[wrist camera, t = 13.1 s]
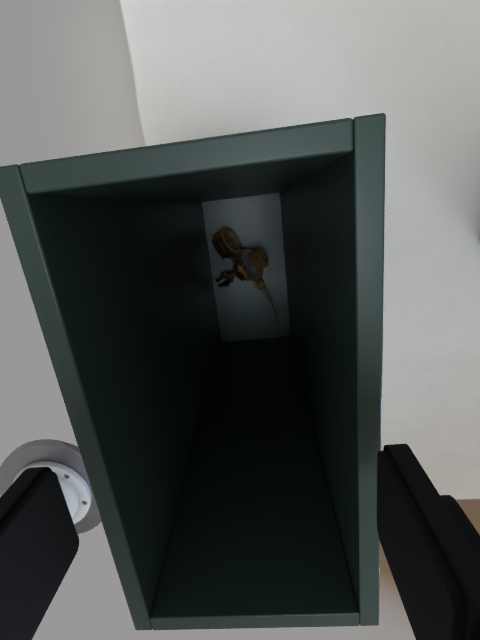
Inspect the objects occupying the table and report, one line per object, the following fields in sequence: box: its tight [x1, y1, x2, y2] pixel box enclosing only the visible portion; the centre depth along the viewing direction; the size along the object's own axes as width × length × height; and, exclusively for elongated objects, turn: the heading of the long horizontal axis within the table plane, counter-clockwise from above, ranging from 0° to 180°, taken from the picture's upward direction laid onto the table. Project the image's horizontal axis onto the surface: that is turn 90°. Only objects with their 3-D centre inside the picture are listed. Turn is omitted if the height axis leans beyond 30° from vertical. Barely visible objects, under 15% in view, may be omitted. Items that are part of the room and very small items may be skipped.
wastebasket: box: [0, 113, 386, 630], centre depth 27 cm, size 11×19×33 cm, turn 7°
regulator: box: [211, 227, 280, 332], centre depth 42 cm, size 8×4×15 cm
